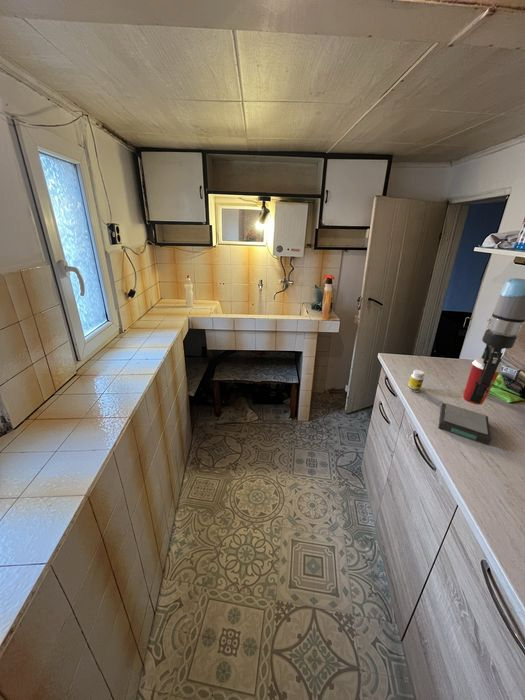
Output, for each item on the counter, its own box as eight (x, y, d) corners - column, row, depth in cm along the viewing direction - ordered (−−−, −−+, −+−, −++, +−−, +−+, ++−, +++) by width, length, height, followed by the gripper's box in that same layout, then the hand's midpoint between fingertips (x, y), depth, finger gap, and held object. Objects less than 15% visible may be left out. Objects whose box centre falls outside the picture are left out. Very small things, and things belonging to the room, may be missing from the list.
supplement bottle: (416, 393, 116) (421, 375, 112) (405, 388, 119) (410, 371, 116) (421, 390, 118) (427, 372, 115) (411, 385, 122) (416, 368, 118)
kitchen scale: (485, 422, 100) (488, 414, 99) (488, 445, 89) (492, 437, 88) (440, 408, 107) (443, 400, 106) (438, 428, 96) (441, 420, 95)
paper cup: (485, 409, 89) (502, 370, 83) (457, 399, 94) (471, 362, 88) (488, 399, 94) (504, 362, 88) (461, 390, 99) (475, 354, 93)
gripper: (484, 321, 93) (460, 380, 103) (488, 339, 78) (460, 407, 88) (513, 326, 89) (485, 387, 99) (523, 345, 74) (490, 416, 84)
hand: (474, 396), depth 93 cm, fingers closed on paper cup, 7 cm apart
